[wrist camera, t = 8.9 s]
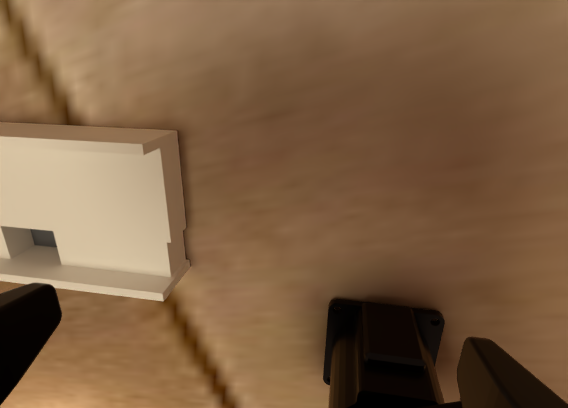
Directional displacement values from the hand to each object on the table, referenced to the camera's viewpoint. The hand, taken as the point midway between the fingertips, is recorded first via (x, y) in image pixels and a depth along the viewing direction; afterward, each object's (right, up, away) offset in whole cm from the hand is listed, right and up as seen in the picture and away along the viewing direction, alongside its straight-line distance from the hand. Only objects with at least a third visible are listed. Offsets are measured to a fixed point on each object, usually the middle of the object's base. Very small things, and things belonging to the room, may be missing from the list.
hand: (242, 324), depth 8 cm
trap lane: (-16, +3, +15) cm, 22 cm away
